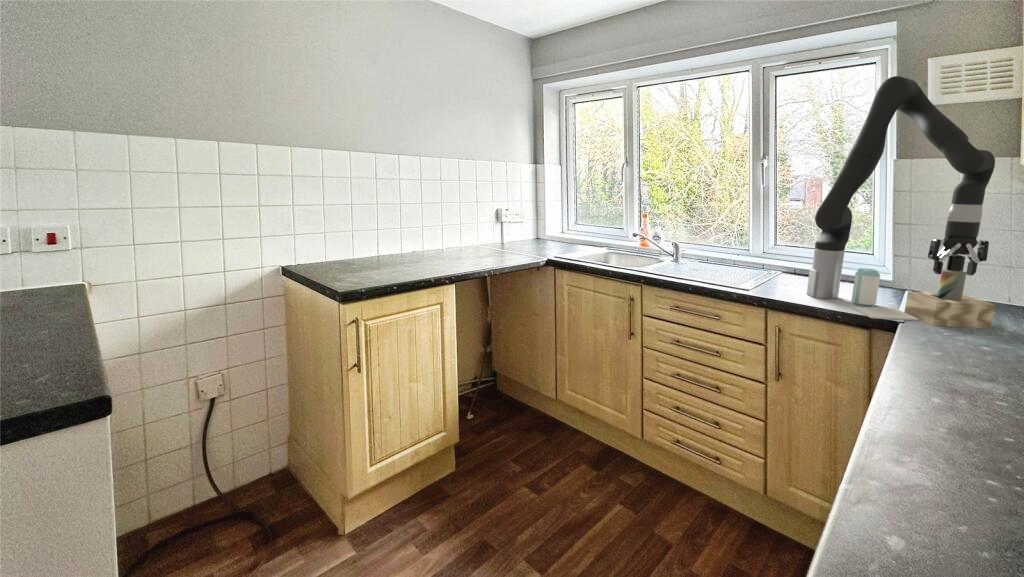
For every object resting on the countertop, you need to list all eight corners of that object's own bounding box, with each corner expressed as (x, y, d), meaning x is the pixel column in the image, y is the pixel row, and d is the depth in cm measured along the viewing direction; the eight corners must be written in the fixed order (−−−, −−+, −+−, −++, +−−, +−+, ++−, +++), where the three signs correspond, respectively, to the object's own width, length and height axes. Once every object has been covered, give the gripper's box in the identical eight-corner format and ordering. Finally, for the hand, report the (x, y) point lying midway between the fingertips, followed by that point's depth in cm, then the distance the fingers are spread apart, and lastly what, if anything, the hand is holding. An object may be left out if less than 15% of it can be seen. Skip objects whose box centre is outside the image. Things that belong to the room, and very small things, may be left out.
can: (861, 301, 184) (866, 267, 182) (880, 305, 178) (886, 270, 175) (846, 302, 182) (851, 268, 180) (865, 307, 175) (870, 271, 173)
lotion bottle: (952, 318, 162) (964, 254, 158) (960, 323, 156) (973, 256, 152) (930, 317, 164) (941, 253, 159) (937, 321, 158) (949, 255, 154)
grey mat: (871, 318, 161) (871, 316, 161) (852, 308, 174) (852, 306, 174) (918, 320, 159) (919, 319, 159) (895, 310, 172) (896, 308, 171)
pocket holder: (932, 325, 154) (936, 302, 153) (904, 312, 168) (907, 291, 167) (990, 328, 151) (995, 304, 150) (956, 315, 166) (961, 293, 164)
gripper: (944, 220, 151) (934, 275, 155) (1000, 221, 149) (989, 277, 152) (929, 218, 159) (919, 271, 162) (982, 219, 156) (972, 273, 159)
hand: (953, 274), depth 157 cm, fingers open, 8 cm apart
